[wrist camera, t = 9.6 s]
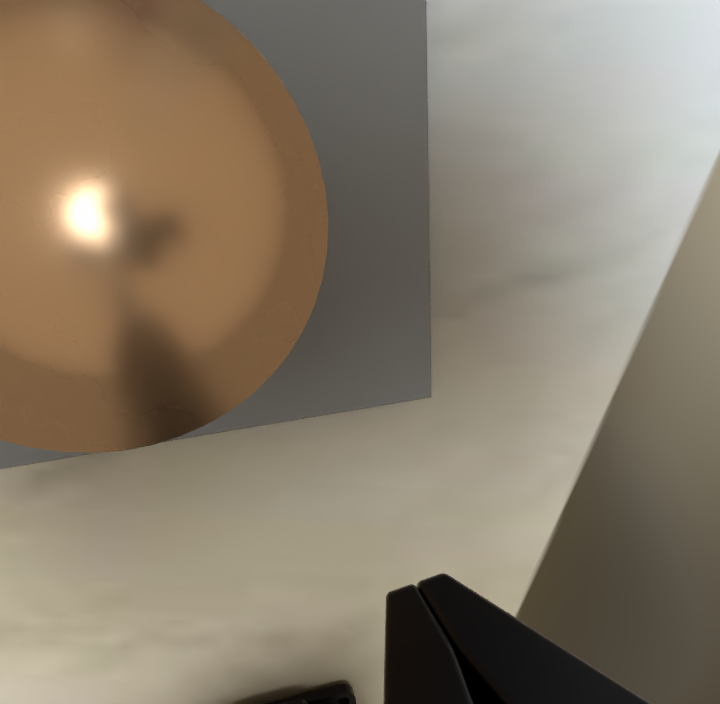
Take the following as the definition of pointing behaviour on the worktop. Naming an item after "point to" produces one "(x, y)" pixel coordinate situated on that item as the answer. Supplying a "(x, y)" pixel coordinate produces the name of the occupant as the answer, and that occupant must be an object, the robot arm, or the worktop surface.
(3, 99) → the door handle
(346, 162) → the mat
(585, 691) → the robot arm
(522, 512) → the worktop surface
